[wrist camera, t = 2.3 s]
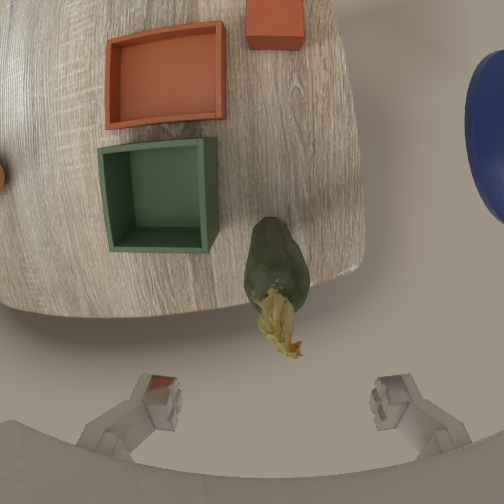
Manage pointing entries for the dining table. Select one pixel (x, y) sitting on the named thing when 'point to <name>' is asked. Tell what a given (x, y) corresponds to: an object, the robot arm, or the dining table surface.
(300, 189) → the dining table surface
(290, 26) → the terracotta block
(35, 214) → the dining table surface
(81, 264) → the dining table surface
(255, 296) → the vegetable
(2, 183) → the egg
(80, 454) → the robot arm
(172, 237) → the produce bin
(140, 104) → the terracotta tray
